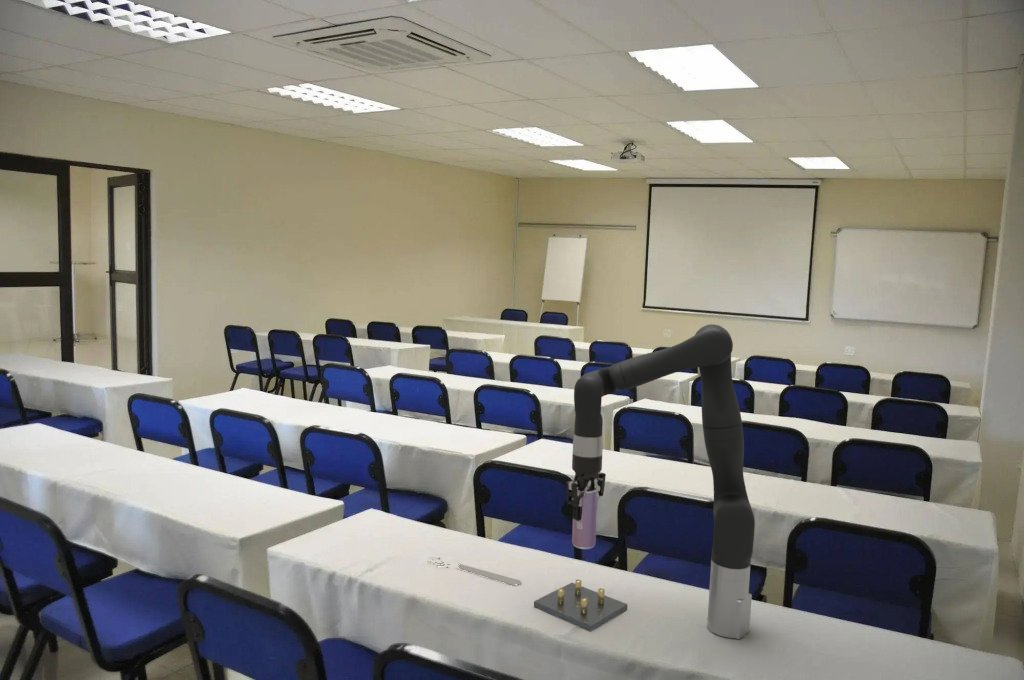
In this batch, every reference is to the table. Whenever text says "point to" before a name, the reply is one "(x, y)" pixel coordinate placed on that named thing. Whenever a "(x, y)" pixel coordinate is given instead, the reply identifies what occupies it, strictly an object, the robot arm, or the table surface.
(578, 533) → the beverage can
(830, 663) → the table surface
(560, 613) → the chassis plate
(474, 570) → the wrench
